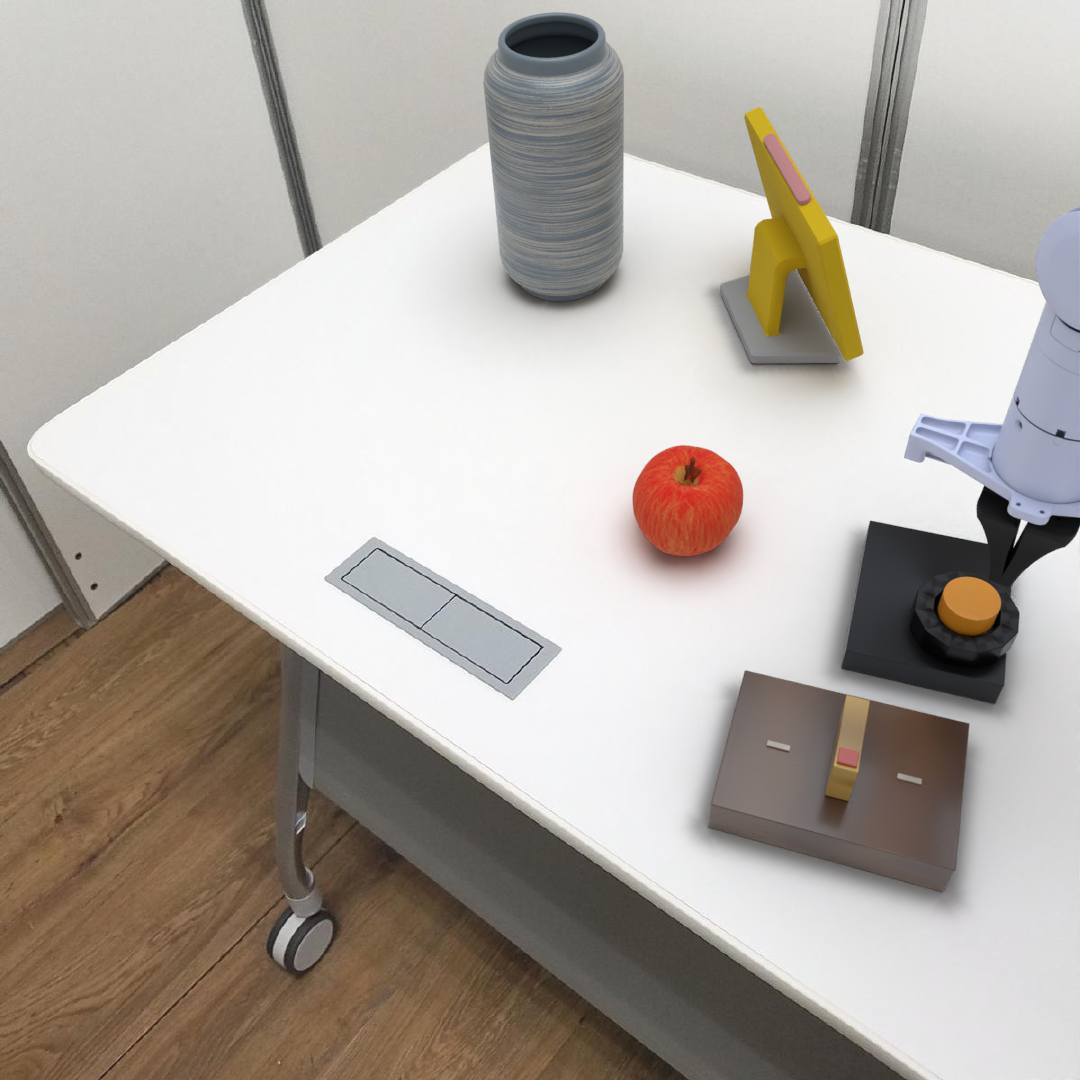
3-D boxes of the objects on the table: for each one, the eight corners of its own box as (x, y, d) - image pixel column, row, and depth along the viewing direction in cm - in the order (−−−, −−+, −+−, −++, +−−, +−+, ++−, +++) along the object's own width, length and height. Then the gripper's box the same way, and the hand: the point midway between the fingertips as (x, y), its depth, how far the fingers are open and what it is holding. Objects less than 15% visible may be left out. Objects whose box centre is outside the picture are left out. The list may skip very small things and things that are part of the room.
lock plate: (958, 747, 70) (970, 721, 68) (943, 892, 64) (956, 869, 61) (740, 695, 73) (745, 668, 71) (707, 827, 67) (710, 803, 65)
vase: (509, 238, 110) (489, 4, 92) (625, 239, 108) (627, 2, 91) (495, 310, 102) (470, 70, 85) (620, 312, 101) (620, 69, 84)
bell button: (996, 599, 73) (1003, 582, 72) (992, 641, 71) (999, 625, 69) (940, 587, 74) (945, 571, 72) (934, 629, 72) (940, 613, 70)
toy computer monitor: (857, 386, 93) (892, 224, 81) (766, 400, 92) (789, 238, 80) (786, 252, 106) (807, 95, 94) (706, 263, 105) (718, 107, 93)
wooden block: (837, 725, 68) (846, 692, 65) (860, 730, 68) (871, 697, 65) (824, 795, 65) (833, 763, 62) (848, 801, 65) (859, 770, 62)
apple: (700, 480, 86) (707, 405, 80) (759, 548, 82) (770, 473, 76) (612, 517, 84) (612, 443, 78) (666, 589, 80) (670, 515, 73)
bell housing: (1009, 569, 79) (1025, 532, 76) (999, 705, 72) (1015, 670, 69) (864, 539, 82) (874, 503, 79) (840, 668, 74) (850, 633, 71)
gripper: (907, 407, 56) (864, 574, 67) (1214, 502, 51) (1115, 668, 61) (949, 330, 60) (901, 499, 70) (1238, 411, 55) (1141, 581, 65)
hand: (1003, 572), depth 66 cm, fingers closed
